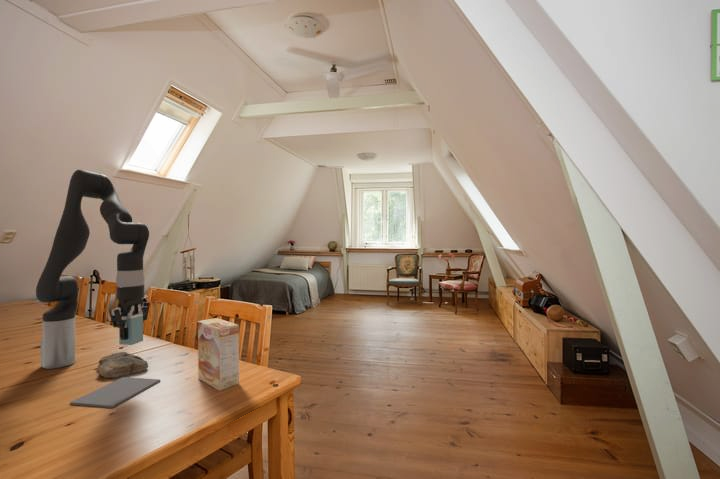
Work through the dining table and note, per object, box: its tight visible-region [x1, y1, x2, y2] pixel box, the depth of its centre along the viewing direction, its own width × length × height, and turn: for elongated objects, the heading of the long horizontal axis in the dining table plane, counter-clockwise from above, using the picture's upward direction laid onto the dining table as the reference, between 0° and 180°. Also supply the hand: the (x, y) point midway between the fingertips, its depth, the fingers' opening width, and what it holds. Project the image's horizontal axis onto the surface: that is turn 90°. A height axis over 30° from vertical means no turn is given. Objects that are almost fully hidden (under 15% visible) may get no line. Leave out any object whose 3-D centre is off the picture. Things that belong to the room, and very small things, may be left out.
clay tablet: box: [97, 351, 149, 379], centre depth 125 cm, size 14×5×20 cm
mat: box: [69, 376, 161, 409], centre depth 105 cm, size 14×18×1 cm
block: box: [118, 313, 144, 346], centre depth 110 cm, size 4×4×9 cm
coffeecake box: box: [197, 317, 240, 392], centre depth 113 cm, size 15×7×20 cm, turn 49°
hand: (131, 336), depth 110 cm, fingers closed on block, 4 cm apart
